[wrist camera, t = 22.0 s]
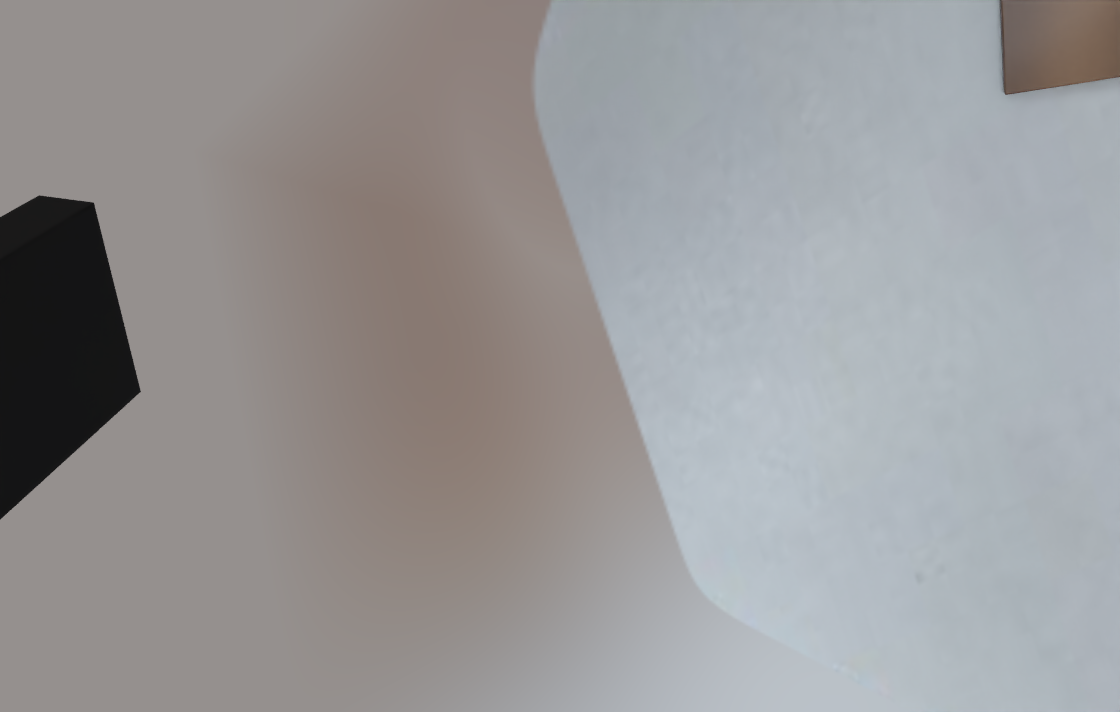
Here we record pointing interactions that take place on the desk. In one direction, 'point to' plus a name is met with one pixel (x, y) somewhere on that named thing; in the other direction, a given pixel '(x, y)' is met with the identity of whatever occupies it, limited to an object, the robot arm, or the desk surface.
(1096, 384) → the desk surface
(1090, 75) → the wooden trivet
